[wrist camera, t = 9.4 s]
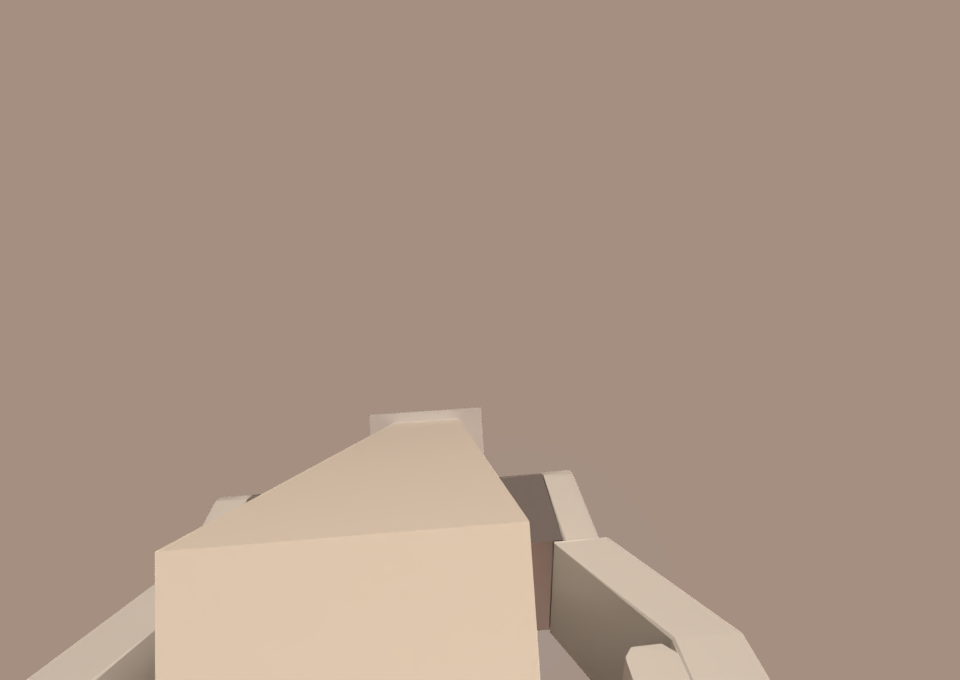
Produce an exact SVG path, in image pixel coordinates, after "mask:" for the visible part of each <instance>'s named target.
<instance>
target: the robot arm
mask: <svg viewBox="0 0 960 680" xmlns="http://www.w3.org/2000/svg"><path fill="white" fill-rule="evenodd" d="M499 478H500V479H501V481H502V482H503V484H504V485H505V487H506V488H507V490H508V491H509V493H510V494H511V495H512V497H513V498H514V500H515V501H516V503H517V504H518V506H519V507H520V508H521V510H522V511H523V513H524V514H525V516H526V517H527V519H528V520H529V523H530V537H531V552H532V566H533V580H534V594H535V609H536V623H537V630H550V633H551V634H552V635H553V636H554V638H555V639H556V640H557V641H558V642H559V643H560V644H561V646H562V647H563V648H564V649H565V650H566V652H567V653H568V654H569V655H570V656H571V657H572V659H573V660H574V661H575V662H576V663H577V664H578V666H579V667H580V668H581V669H582V670H583V671H584V673H585V674H586V675H587V676H588V677H589V678H590V679H591V680H770V679H769V677H768V676H767V674H766V672H765V670H764V669H763V667H762V665H761V664H760V662H759V660H758V659H757V657H756V656H755V654H754V652H753V651H752V649H751V647H750V645H749V644H748V642H747V641H746V639H745V637H744V635H743V634H742V633H741V632H740V631H738V630H737V629H736V628H734V627H733V626H731V625H730V624H729V623H727V622H726V621H724V620H723V619H722V618H720V617H719V616H717V615H716V614H715V613H713V612H712V611H710V610H709V609H708V608H706V607H704V606H703V605H702V604H700V603H699V602H698V601H696V600H695V599H694V598H692V597H691V596H689V595H688V594H686V593H685V592H683V591H682V590H681V589H679V588H678V587H676V586H675V585H674V584H672V583H671V582H670V581H668V580H667V579H665V578H664V577H663V576H661V575H660V574H658V573H657V572H656V571H654V570H653V569H651V568H650V567H649V566H647V565H646V564H644V563H643V562H641V561H640V560H639V559H637V558H636V557H635V556H633V555H632V554H630V553H629V552H628V551H626V550H625V549H623V548H622V547H621V546H619V545H618V544H616V543H615V542H614V541H612V540H610V539H609V538H608V537H607V538H599V537H598V535H597V532H596V530H595V527H594V525H593V522H592V520H591V518H590V515H589V512H588V510H587V508H586V505H585V503H584V500H583V498H582V495H581V493H580V490H579V488H578V485H577V483H576V480H575V478H574V476H573V473H572V472H571V471H569V470H562V471H552V472H542V473H541V474H530V475H517V476H505V477H499ZM259 495H261V494H258V495H252V496H249V495H247V496H232V497H221V498H220V499H218V500H217V501H216V502H215V503H214V504H213V506H212V508H211V510H210V512H209V514H208V515H207V517H206V519H205V521H204V523H203V525H202V526H204V525H206V524H208V523H209V522H211V521H213V520H215V519H217V518H219V517H221V516H222V515H224V514H226V513H228V512H230V511H232V510H233V509H235V508H237V507H239V506H241V505H243V504H245V503H246V502H248V501H250V500H252V499H254V498H256V497H258V496H259ZM202 526H201V527H202ZM27 680H155V584H154V585H153V586H152V587H150V588H149V589H148V590H146V591H145V592H144V593H142V594H141V595H140V596H138V597H137V598H136V599H134V600H133V601H132V602H130V603H129V604H128V605H126V606H125V607H124V608H122V609H121V610H119V611H118V612H117V613H115V614H114V615H113V616H111V617H110V618H109V619H107V620H106V621H105V622H103V623H102V624H101V625H99V626H98V627H97V628H95V629H94V630H93V631H91V632H90V633H89V634H87V635H86V636H85V637H83V638H82V639H81V640H79V641H78V642H76V643H75V644H74V645H72V646H71V647H70V648H68V649H67V650H66V651H65V652H63V653H62V654H60V655H59V656H58V657H56V658H55V659H54V660H52V661H51V662H50V663H48V664H47V665H46V666H44V667H43V668H42V669H40V670H39V671H38V672H36V673H35V674H34V675H32V676H31V677H30V678H28V679H27Z"/></svg>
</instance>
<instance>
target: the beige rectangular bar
mask: <svg viewBox="0 0 960 680" xmlns="http://www.w3.org/2000/svg"><path fill="white" fill-rule="evenodd" d="M155 680H540V667H539V651H538V638H537V623H536V609H535V594H534V580H533V566H532V552H531V537H530V523H529V520H528V519H527V517H526V516H525V514H524V513H523V511H522V510H521V508H520V507H519V506H518V504H517V503H516V501H515V500H514V498H513V497H512V495H511V494H510V493H509V491H508V490H507V488H506V487H505V485H504V484H503V482H502V481H501V479H500V478H499V477H498V475H497V474H496V472H495V471H494V469H493V468H492V467H491V465H490V464H489V462H488V461H487V459H486V458H485V457H484V451H483V434H482V418H481V408H464V409H448V410H433V411H418V412H402V413H388V414H373V415H370V436H369V437H367V438H365V439H363V440H361V441H359V442H357V443H356V444H354V445H352V446H350V447H348V448H346V449H344V450H343V451H341V452H339V453H337V454H335V455H333V456H332V457H330V458H328V459H326V460H324V461H322V462H320V463H319V464H317V465H315V466H313V467H311V468H310V469H307V470H306V471H304V472H302V473H300V474H298V475H296V476H295V477H293V478H291V479H289V480H287V481H285V482H283V483H282V484H280V485H278V486H276V487H275V488H272V489H271V490H269V491H267V492H265V493H263V494H261V495H259V496H258V497H256V498H254V499H252V500H250V501H248V502H246V503H245V504H243V505H241V506H239V507H237V508H235V509H233V510H232V511H230V512H228V513H226V514H224V515H222V516H221V517H219V518H217V519H215V520H213V521H211V522H209V523H208V524H206V525H204V526H202V527H200V528H198V529H196V530H195V531H193V532H191V533H189V534H187V535H185V536H184V537H182V538H180V539H178V540H176V541H175V542H172V543H171V544H169V545H167V546H165V547H163V548H161V549H160V550H158V551H156V552H155Z"/></svg>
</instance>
